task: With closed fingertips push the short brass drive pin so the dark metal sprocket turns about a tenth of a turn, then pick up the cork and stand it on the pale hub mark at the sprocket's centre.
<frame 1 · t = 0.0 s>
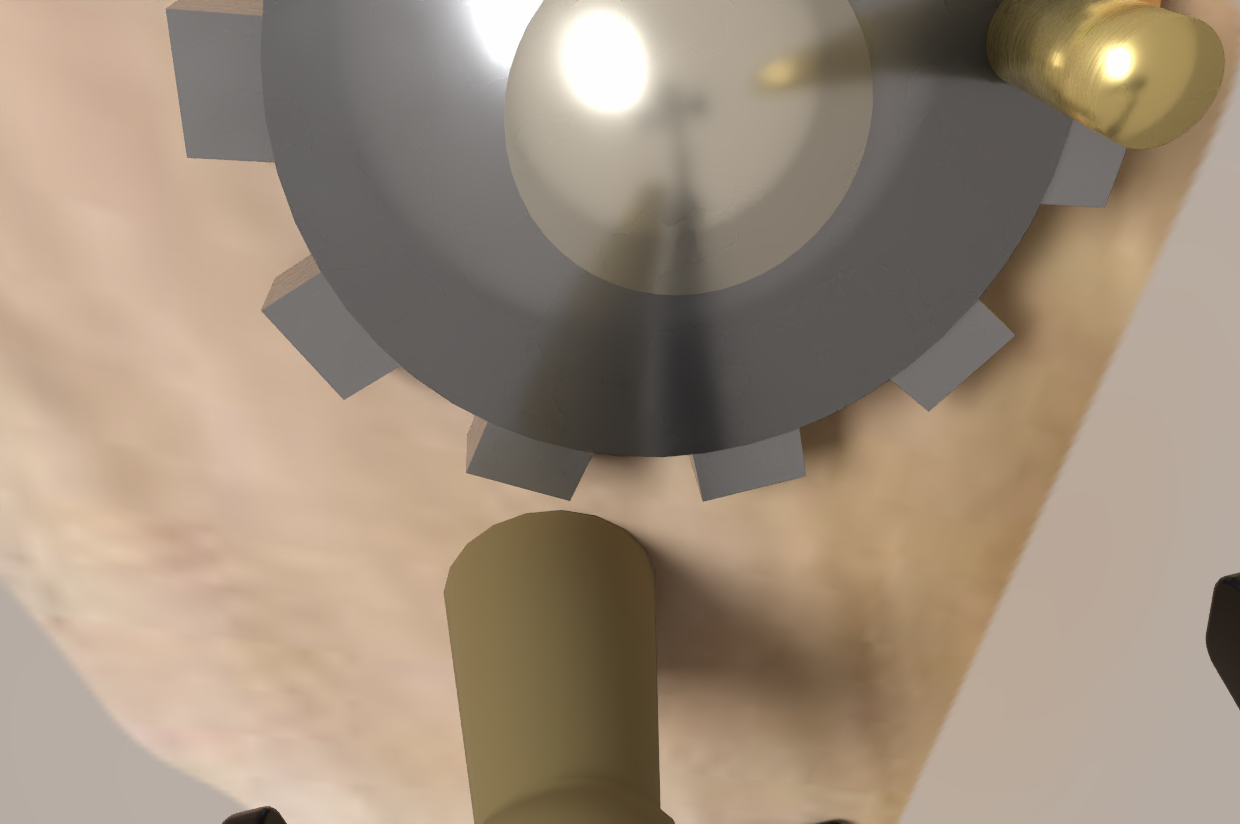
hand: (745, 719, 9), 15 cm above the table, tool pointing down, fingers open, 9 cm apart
sprocket: (699, 137, 18), point 3 cm above the table, hinge at 0.0°
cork: (550, 589, 28), on the table
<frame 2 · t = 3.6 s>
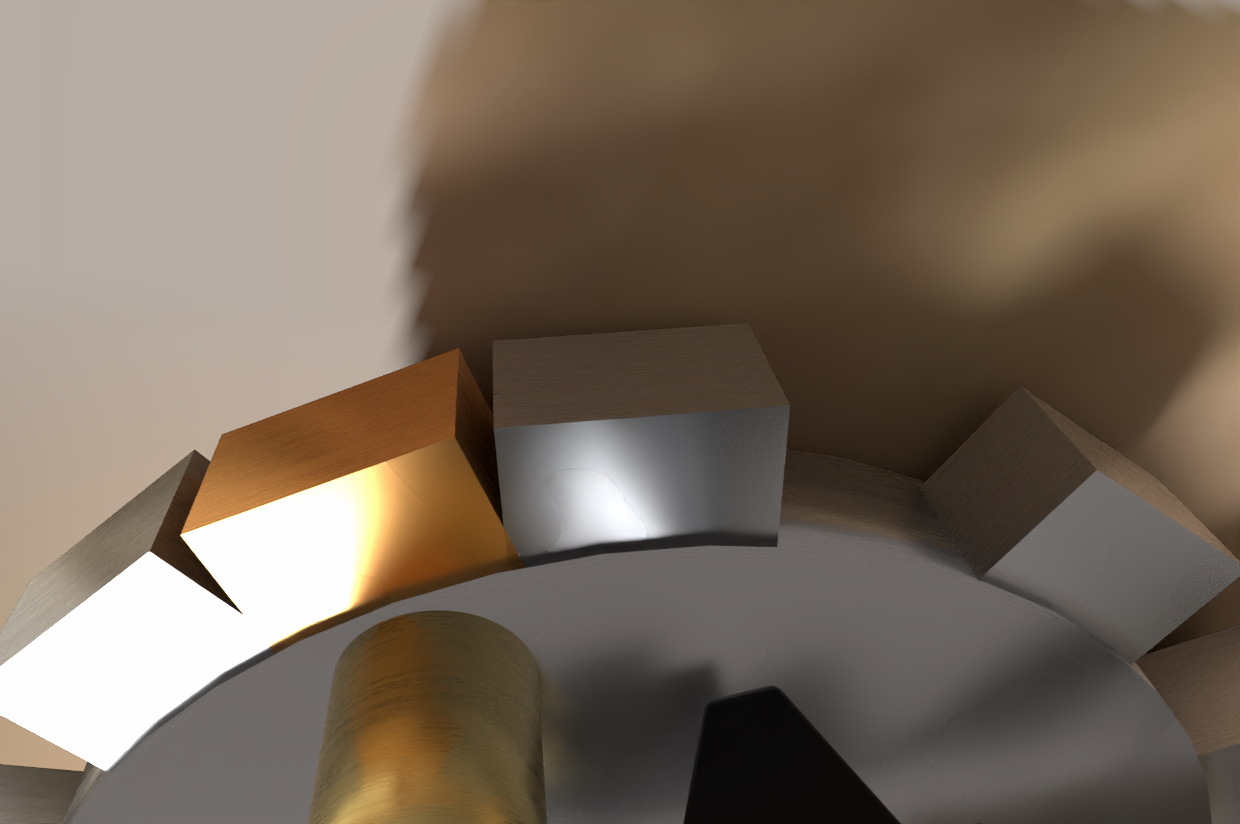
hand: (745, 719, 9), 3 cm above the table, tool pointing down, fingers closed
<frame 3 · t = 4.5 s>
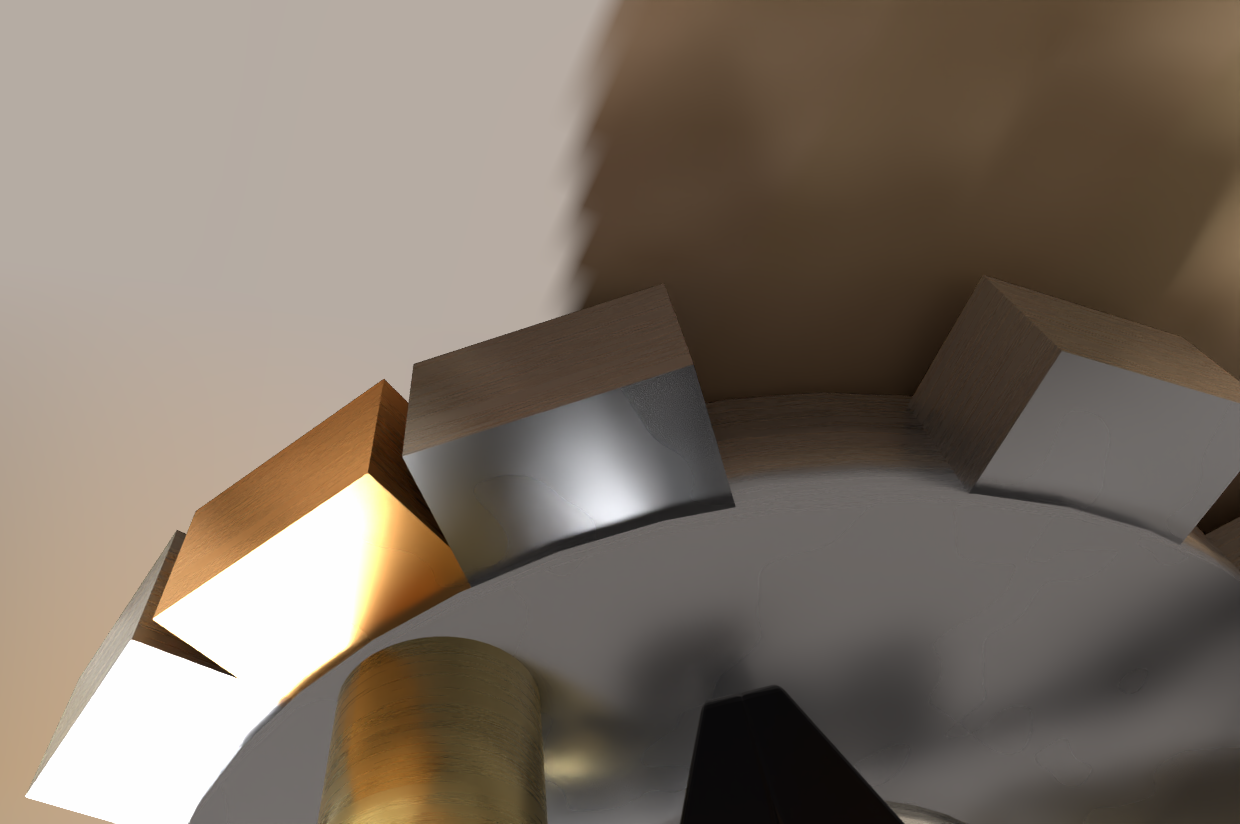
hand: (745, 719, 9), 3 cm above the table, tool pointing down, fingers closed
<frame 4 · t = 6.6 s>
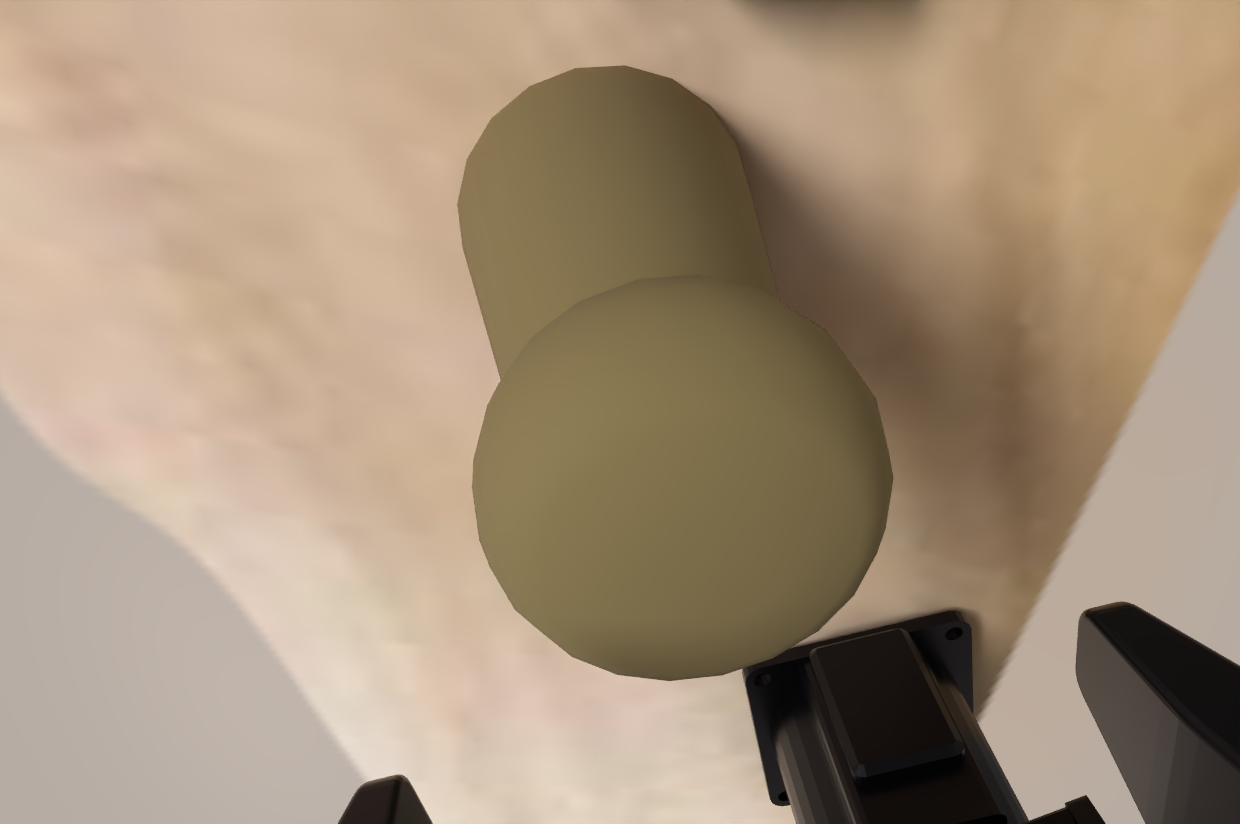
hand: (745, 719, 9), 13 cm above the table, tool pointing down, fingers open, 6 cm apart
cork: (604, 212, 20), on the table
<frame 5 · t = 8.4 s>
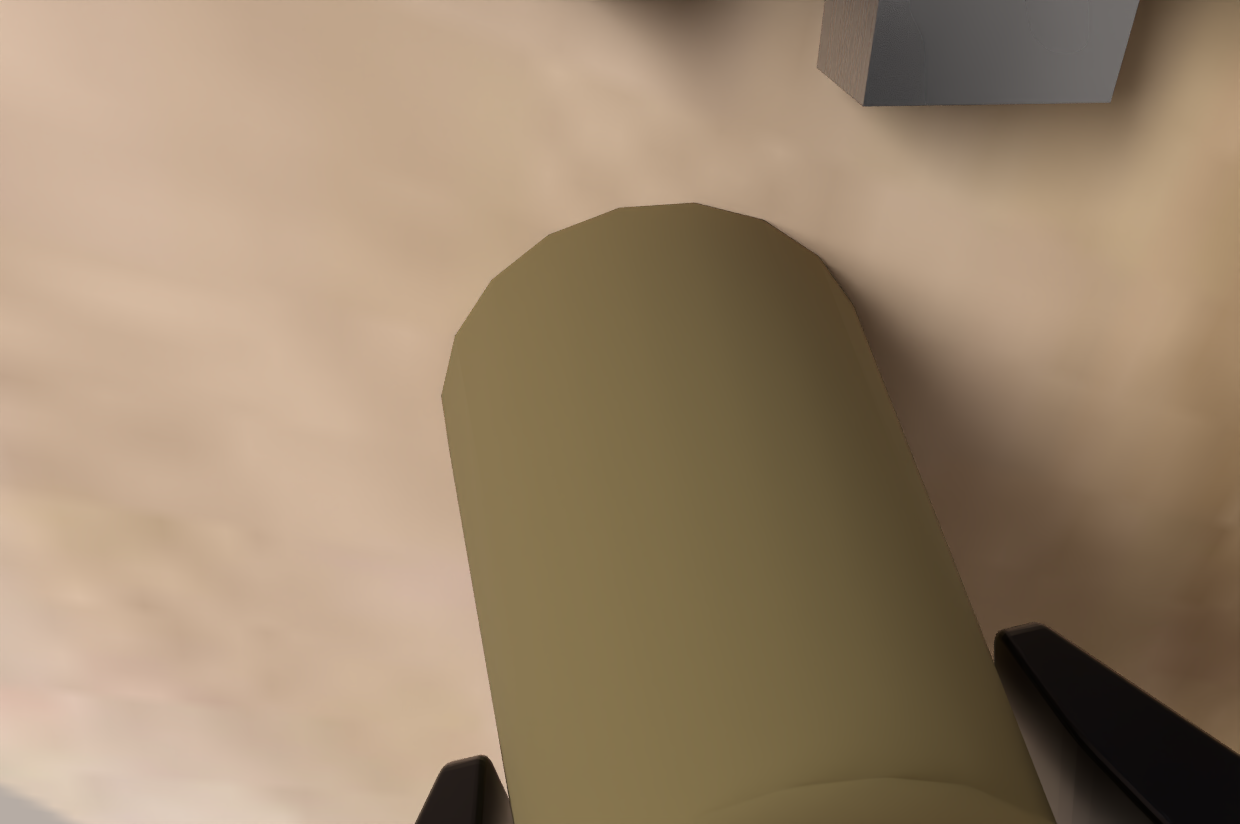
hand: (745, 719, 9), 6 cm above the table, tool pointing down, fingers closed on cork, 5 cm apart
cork: (656, 399, 14), on the table, touching gripper
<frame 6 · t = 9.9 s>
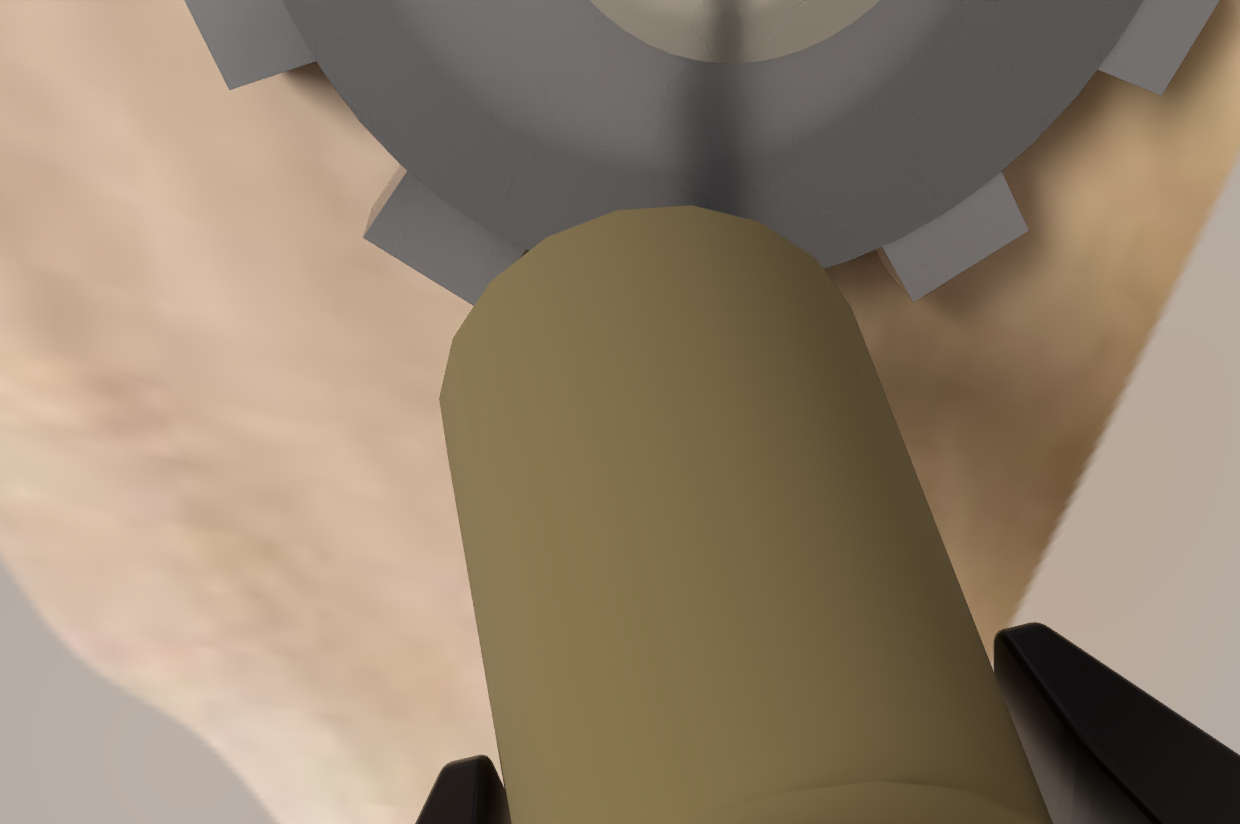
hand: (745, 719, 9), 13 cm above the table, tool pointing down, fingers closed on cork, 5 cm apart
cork: (654, 401, 14), point 8 cm above the table, touching gripper
when the fingers open (9 cm above the table, at t = 11.4 s): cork stays where it is, resting on sprocket.
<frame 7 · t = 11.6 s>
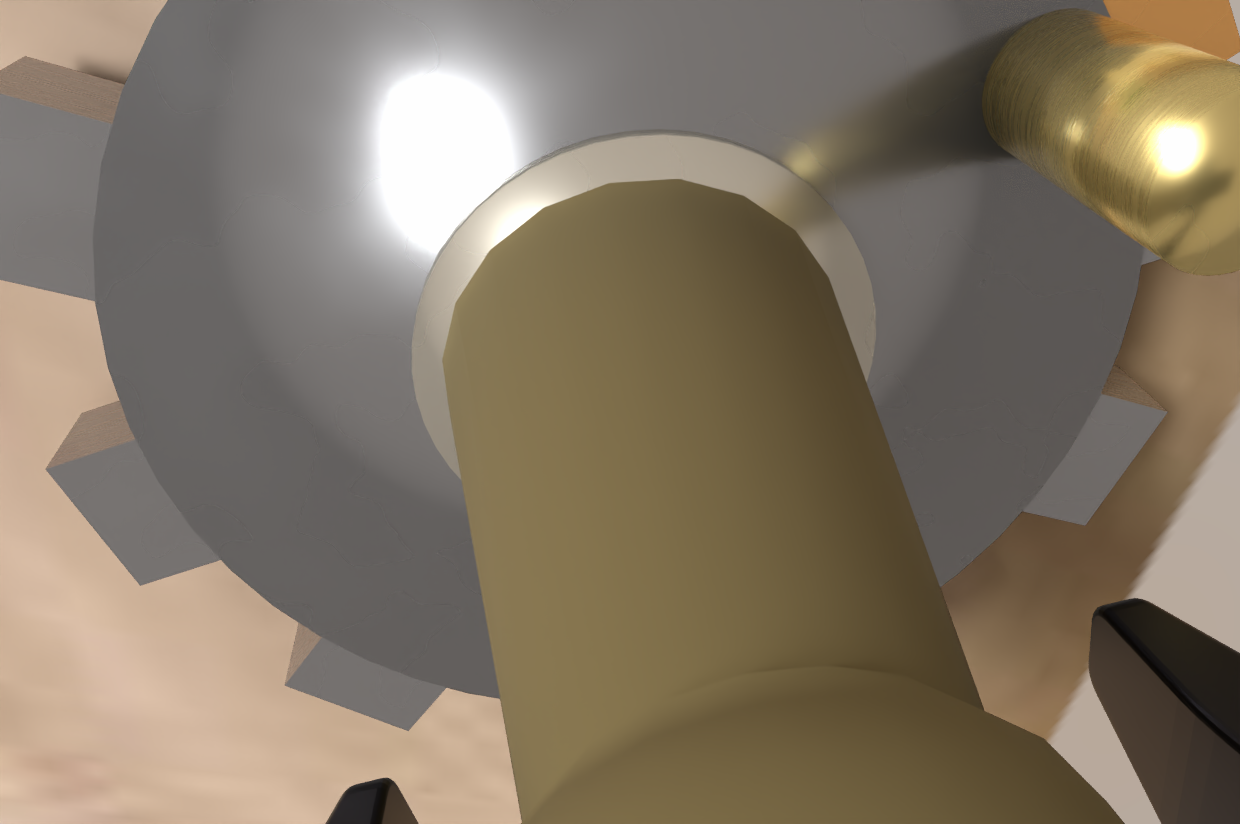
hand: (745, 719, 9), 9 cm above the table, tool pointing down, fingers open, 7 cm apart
sprocket: (656, 390, 14), point 3 cm above the table, hinge at 22.7°, touching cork
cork: (643, 365, 15), point 2 cm above the table, touching sprocket
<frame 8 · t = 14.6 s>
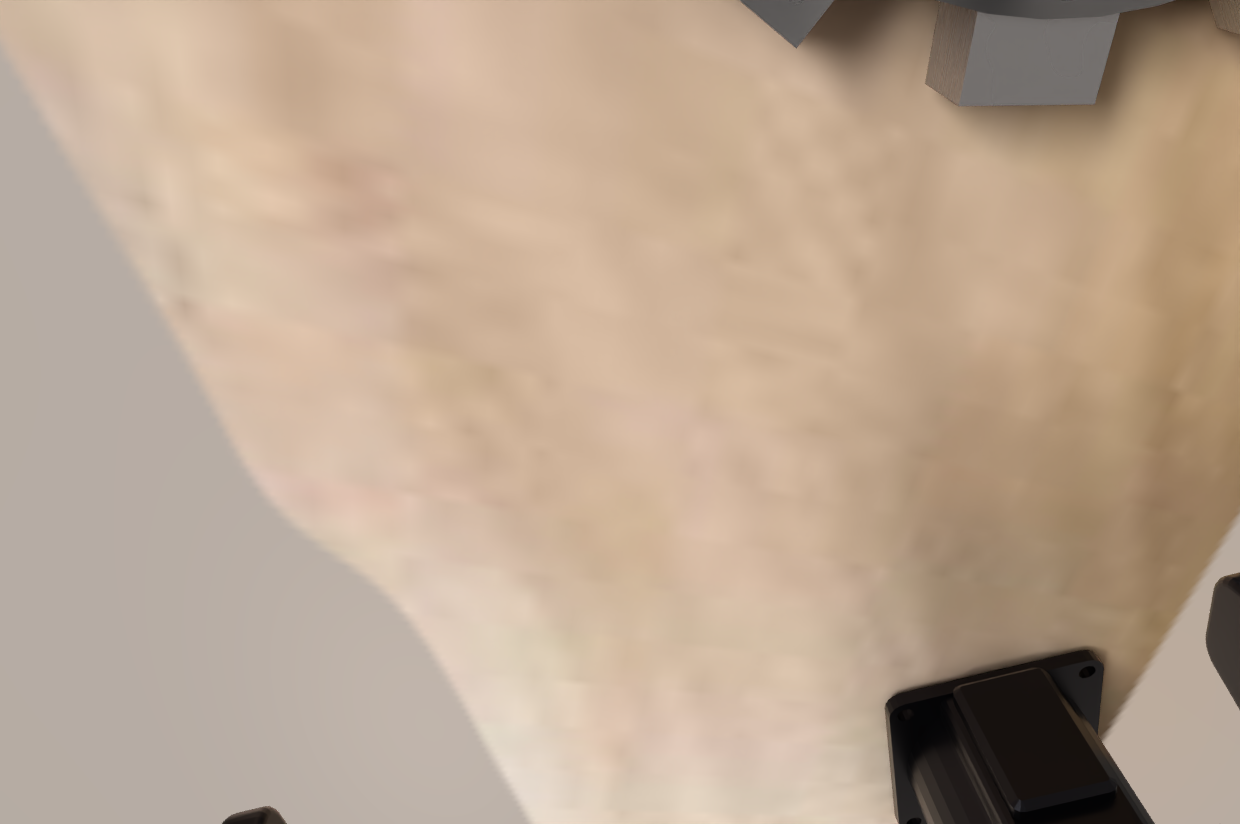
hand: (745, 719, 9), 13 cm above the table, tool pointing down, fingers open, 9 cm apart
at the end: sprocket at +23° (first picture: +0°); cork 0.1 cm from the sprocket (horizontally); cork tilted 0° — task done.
